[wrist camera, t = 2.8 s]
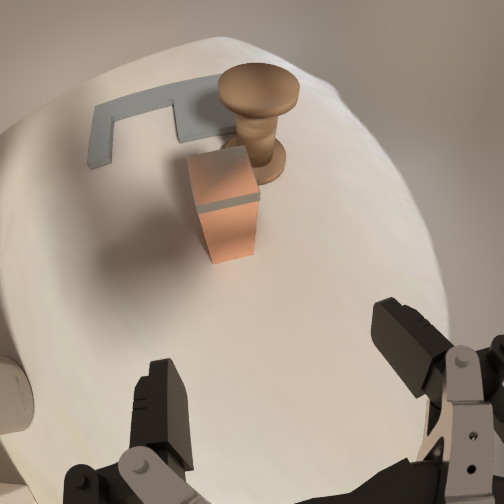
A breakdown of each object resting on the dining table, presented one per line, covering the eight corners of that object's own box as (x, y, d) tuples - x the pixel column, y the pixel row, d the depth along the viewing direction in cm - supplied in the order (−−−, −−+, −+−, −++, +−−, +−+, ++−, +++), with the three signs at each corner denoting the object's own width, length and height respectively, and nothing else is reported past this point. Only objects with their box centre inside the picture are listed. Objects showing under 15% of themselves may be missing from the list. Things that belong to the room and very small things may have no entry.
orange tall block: (212, 264, 28) (195, 206, 17) (204, 226, 29) (186, 157, 19) (254, 254, 28) (260, 192, 18) (243, 217, 30) (244, 145, 19)
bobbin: (230, 191, 31) (226, 113, 20) (218, 144, 33) (211, 68, 22) (293, 179, 31) (312, 102, 21) (274, 134, 34) (284, 60, 23)
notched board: (90, 169, 32) (87, 163, 30) (97, 111, 36) (95, 106, 34) (243, 130, 34) (243, 124, 33) (224, 79, 38) (224, 73, 37)
